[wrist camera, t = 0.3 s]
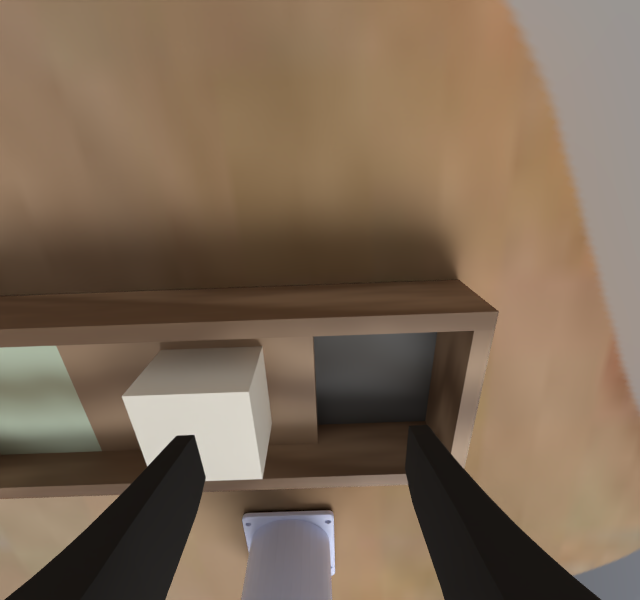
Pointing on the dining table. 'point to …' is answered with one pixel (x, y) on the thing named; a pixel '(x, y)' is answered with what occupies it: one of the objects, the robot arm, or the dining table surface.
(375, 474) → the trap box
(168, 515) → the robot arm
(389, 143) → the dining table surface
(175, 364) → the cream block
